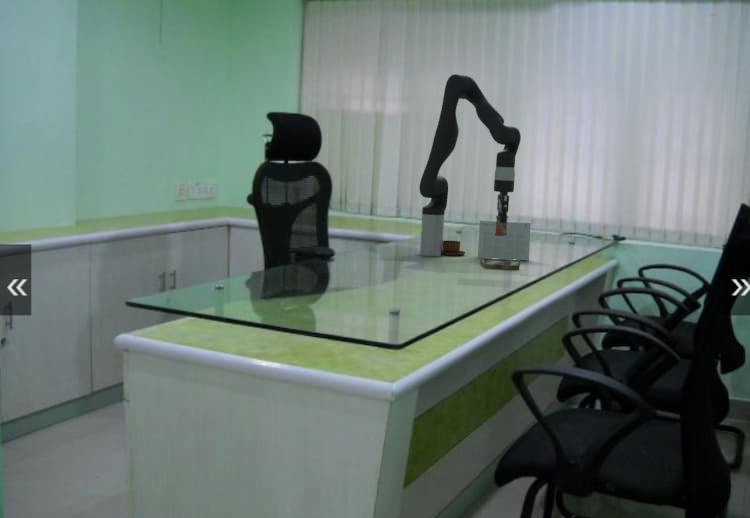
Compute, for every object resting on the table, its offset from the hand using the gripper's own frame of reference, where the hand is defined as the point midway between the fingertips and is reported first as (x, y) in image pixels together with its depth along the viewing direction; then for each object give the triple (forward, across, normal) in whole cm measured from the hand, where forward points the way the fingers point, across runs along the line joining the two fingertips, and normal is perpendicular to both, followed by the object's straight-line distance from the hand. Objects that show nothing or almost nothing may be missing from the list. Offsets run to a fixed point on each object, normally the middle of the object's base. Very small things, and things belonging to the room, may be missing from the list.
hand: (501, 222), depth 314 cm
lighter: (+5, 0, 0) cm, 5 cm away
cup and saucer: (+17, +33, +16) cm, 41 cm away
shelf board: (+17, 0, 0) cm, 17 cm away
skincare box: (+17, +28, -5) cm, 33 cm away
